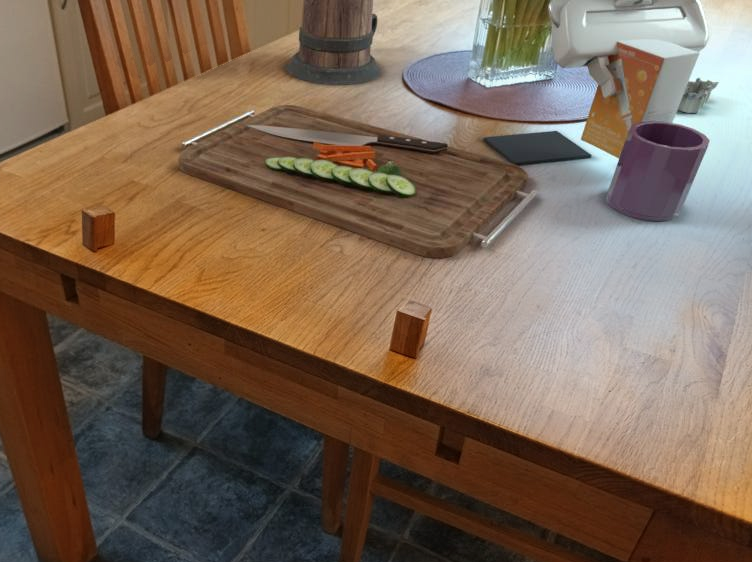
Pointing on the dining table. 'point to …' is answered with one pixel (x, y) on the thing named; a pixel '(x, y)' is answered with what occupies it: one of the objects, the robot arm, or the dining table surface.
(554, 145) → the coaster pad
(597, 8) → the robot arm
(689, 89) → the egg carton
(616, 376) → the dining table surface
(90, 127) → the dining table surface
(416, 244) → the chopping board
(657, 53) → the small box
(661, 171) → the plum cup
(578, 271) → the dining table surface
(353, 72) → the tankard
